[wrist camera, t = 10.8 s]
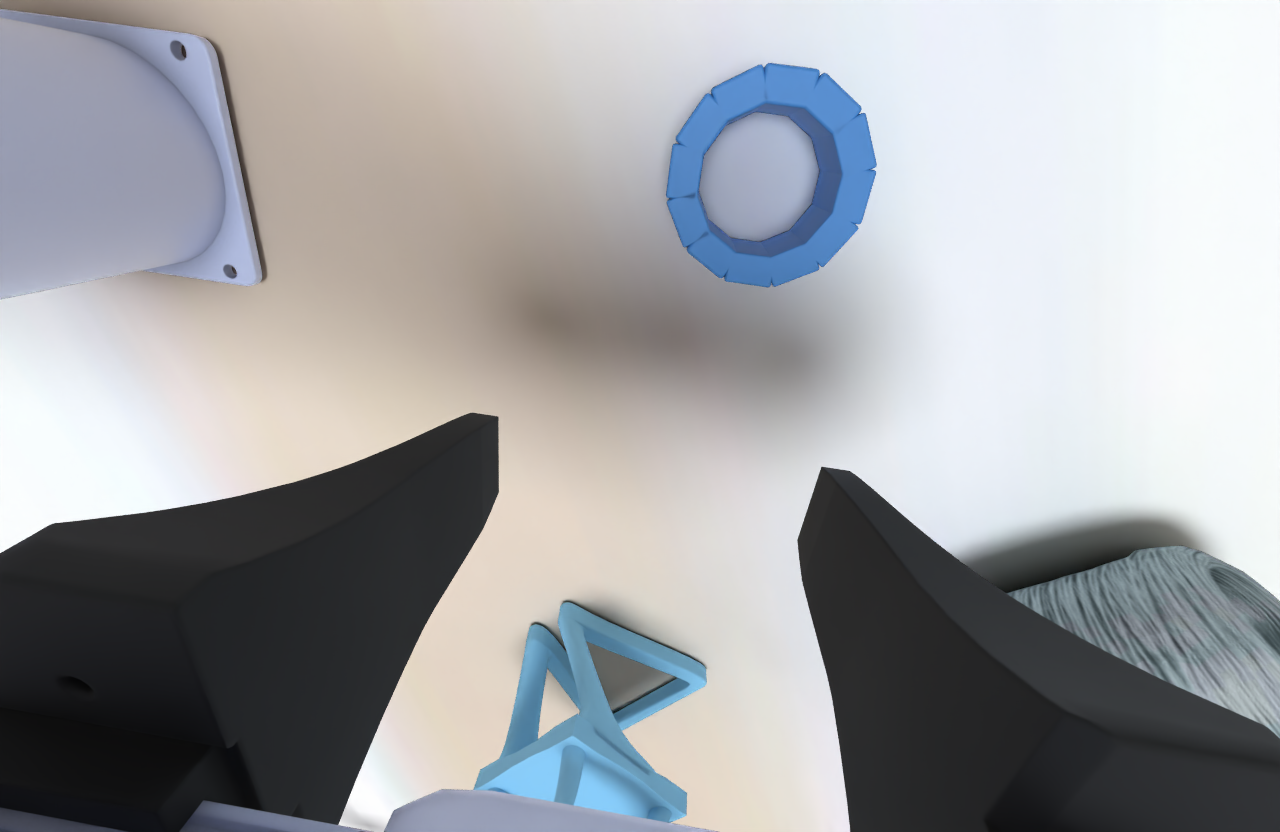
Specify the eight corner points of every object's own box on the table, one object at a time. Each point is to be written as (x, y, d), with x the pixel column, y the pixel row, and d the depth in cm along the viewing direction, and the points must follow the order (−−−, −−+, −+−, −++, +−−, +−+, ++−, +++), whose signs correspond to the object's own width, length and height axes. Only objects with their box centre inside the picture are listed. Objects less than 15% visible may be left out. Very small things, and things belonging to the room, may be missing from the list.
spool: (1316, 494, 17) (1588, 921, 11) (1225, 580, 23) (1369, 873, 18) (859, 531, 23) (895, 816, 18) (892, 591, 30) (925, 809, 24)
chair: (597, 577, 26) (526, 876, 15) (709, 669, 28) (716, 989, 17) (501, 645, 29) (384, 936, 18) (609, 723, 31) (563, 1026, 20)
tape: (661, 254, 19) (655, 271, 16) (687, 68, 16) (684, 51, 13) (819, 277, 18) (839, 298, 16) (870, 91, 16) (904, 79, 13)
